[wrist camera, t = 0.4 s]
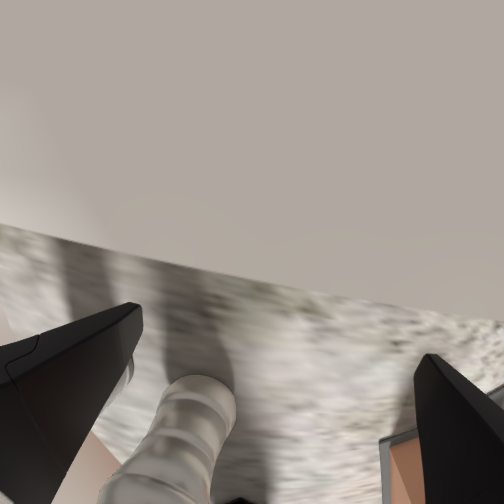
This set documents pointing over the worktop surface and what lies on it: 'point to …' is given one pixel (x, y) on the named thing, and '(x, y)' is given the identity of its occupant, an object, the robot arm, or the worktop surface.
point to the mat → (499, 397)
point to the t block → (406, 473)
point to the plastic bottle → (177, 447)
